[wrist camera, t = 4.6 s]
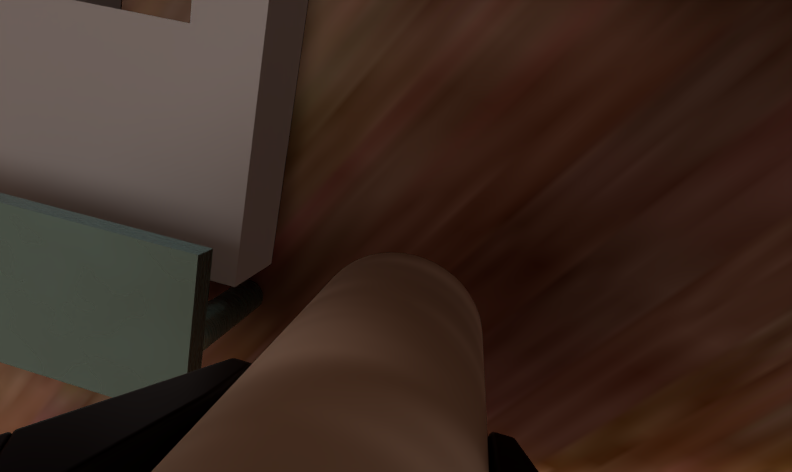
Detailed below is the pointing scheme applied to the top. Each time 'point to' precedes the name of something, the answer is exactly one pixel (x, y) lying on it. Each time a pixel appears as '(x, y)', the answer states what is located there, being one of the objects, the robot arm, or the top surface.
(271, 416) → the peg
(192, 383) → the robot arm
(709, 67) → the top surface
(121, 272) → the green raised slab
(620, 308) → the top surface
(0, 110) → the socket
